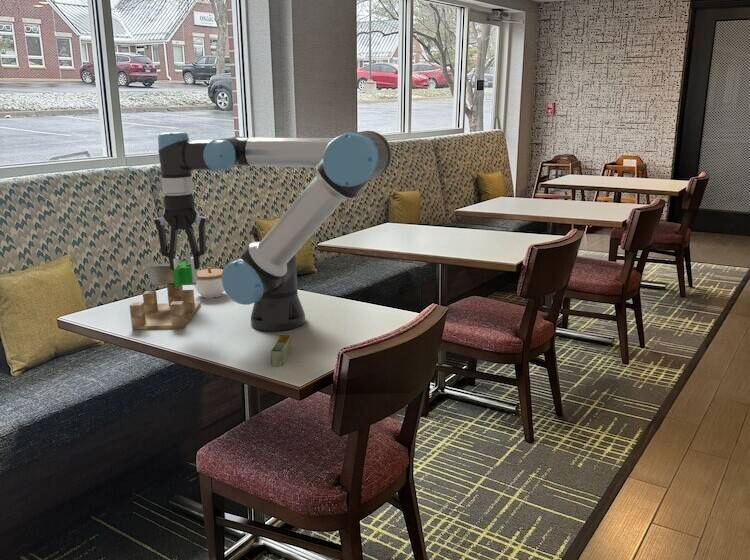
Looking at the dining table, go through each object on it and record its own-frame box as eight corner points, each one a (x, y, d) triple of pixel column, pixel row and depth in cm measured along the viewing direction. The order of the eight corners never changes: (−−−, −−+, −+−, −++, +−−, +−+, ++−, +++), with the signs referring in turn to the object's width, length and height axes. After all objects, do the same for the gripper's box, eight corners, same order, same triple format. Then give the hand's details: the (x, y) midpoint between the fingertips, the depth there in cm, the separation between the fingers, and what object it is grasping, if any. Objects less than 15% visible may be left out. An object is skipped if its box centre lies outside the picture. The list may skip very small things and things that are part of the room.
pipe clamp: (189, 287, 177) (187, 270, 176) (175, 287, 177) (173, 270, 175) (198, 276, 188) (196, 260, 186) (184, 277, 187) (183, 260, 186)
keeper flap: (195, 285, 207) (196, 282, 207) (189, 265, 200) (190, 262, 200) (152, 286, 206) (153, 283, 207) (145, 266, 199) (145, 263, 200)
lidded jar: (224, 299, 216) (222, 271, 214) (191, 300, 216) (188, 271, 214) (231, 290, 226) (229, 263, 224) (198, 291, 226) (196, 264, 224)
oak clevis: (200, 305, 210) (198, 283, 208) (183, 328, 189) (180, 304, 187) (154, 306, 210) (152, 285, 208) (132, 329, 188) (129, 305, 187)
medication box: (282, 367, 160) (281, 351, 159) (270, 366, 160) (270, 350, 159) (291, 349, 172) (290, 334, 171) (280, 349, 172) (280, 334, 171)
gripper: (214, 190, 180) (221, 276, 186) (149, 192, 179) (158, 278, 185) (208, 194, 172) (215, 283, 178) (141, 196, 172) (150, 285, 178)
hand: (186, 281), depth 182 cm, fingers closed on pipe clamp, 4 cm apart
